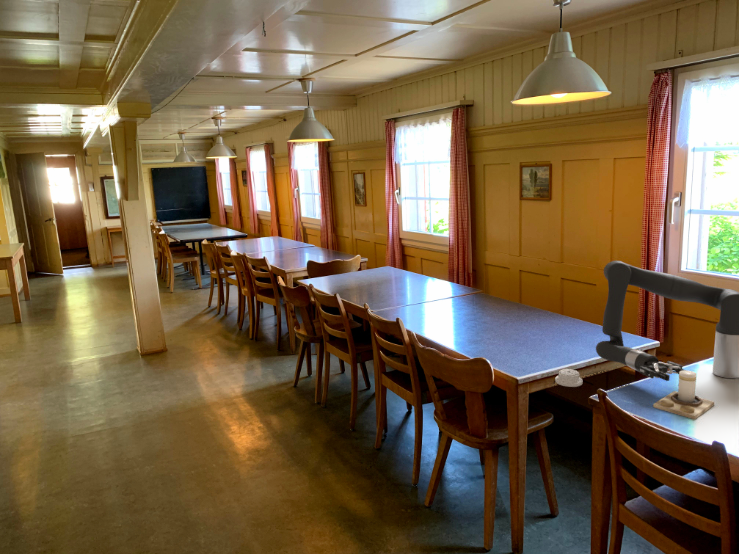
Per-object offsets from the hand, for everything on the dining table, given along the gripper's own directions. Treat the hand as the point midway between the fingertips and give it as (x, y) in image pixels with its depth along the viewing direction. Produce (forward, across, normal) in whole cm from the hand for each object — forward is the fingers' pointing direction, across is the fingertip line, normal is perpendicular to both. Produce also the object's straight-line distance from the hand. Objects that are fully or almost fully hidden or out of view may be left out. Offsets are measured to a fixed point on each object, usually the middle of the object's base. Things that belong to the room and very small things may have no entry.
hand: (678, 376), depth 186 cm
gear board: (+5, -2, +9) cm, 10 cm away
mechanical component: (-29, -23, +9) cm, 38 cm away
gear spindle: (+4, 0, +8) cm, 8 cm away
